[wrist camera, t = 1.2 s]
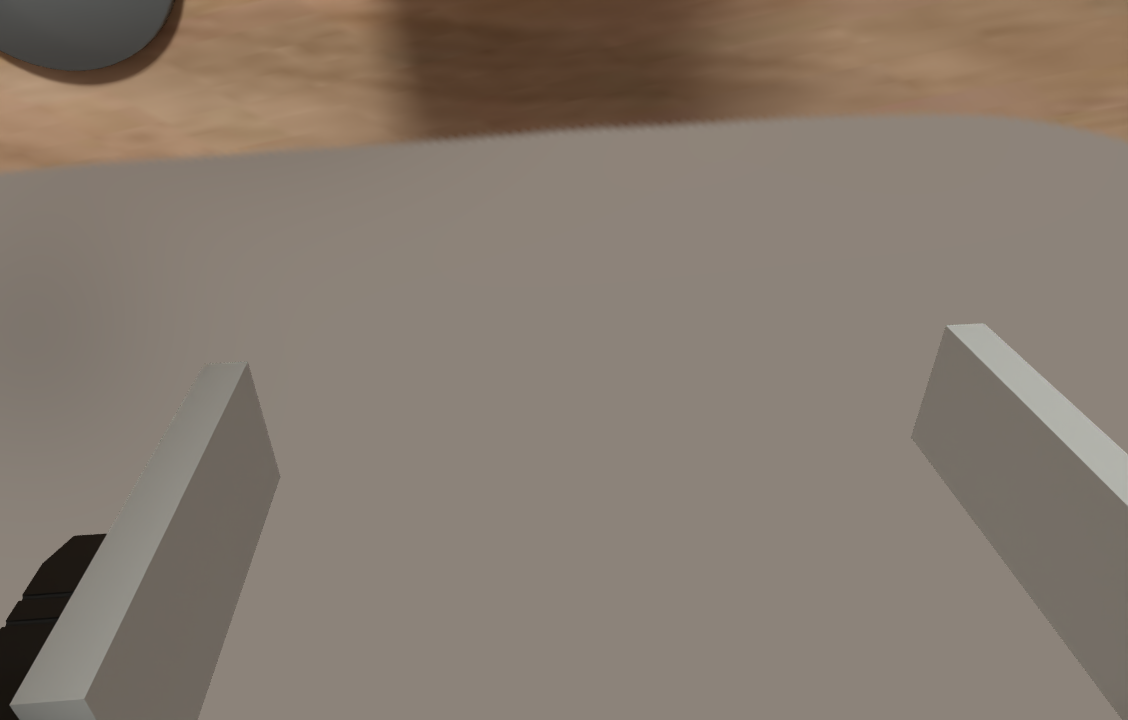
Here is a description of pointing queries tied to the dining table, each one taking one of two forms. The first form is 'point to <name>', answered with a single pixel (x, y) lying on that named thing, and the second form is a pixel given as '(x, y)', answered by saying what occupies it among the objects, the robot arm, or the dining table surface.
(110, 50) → the coaster
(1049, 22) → the dining table surface
